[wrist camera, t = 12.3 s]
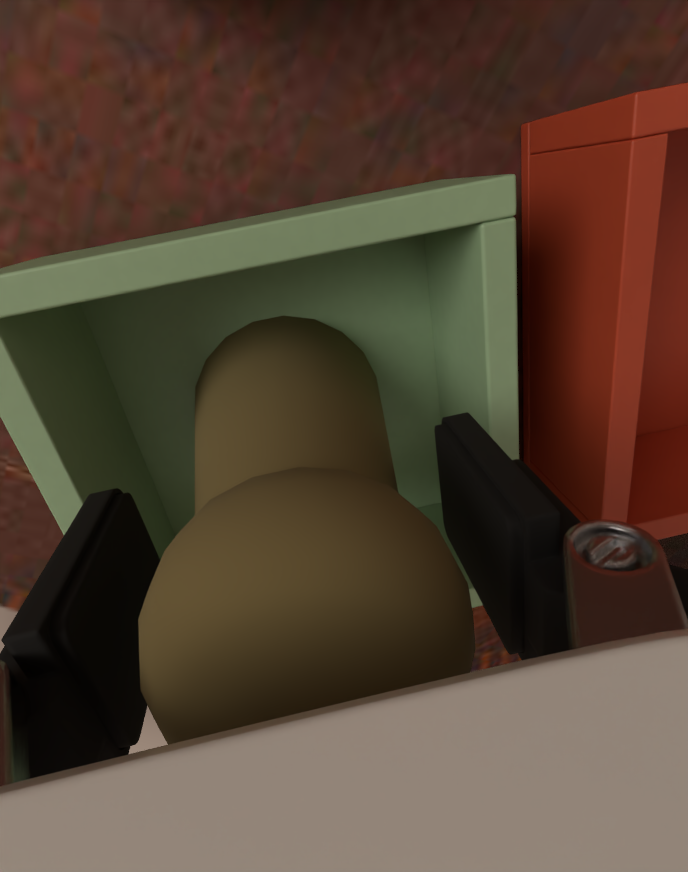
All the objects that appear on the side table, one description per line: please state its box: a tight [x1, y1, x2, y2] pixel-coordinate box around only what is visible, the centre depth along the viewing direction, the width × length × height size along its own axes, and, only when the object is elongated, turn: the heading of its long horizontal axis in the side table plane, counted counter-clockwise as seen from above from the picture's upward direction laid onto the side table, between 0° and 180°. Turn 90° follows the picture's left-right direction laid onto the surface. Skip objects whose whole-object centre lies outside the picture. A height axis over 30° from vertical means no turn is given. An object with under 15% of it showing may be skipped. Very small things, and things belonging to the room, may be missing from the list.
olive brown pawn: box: [138, 316, 475, 745], centre depth 11 cm, size 6×6×11 cm
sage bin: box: [0, 174, 519, 608], centre depth 15 cm, size 12×12×5 cm
